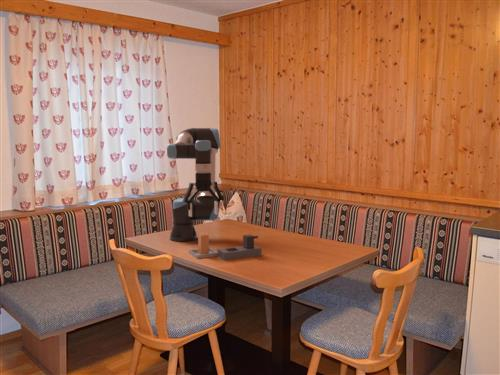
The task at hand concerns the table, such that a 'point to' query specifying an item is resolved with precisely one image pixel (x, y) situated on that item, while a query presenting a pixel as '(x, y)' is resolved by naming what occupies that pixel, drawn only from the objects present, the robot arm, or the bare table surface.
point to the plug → (203, 244)
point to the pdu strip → (241, 249)
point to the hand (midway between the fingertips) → (203, 215)
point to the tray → (196, 255)
